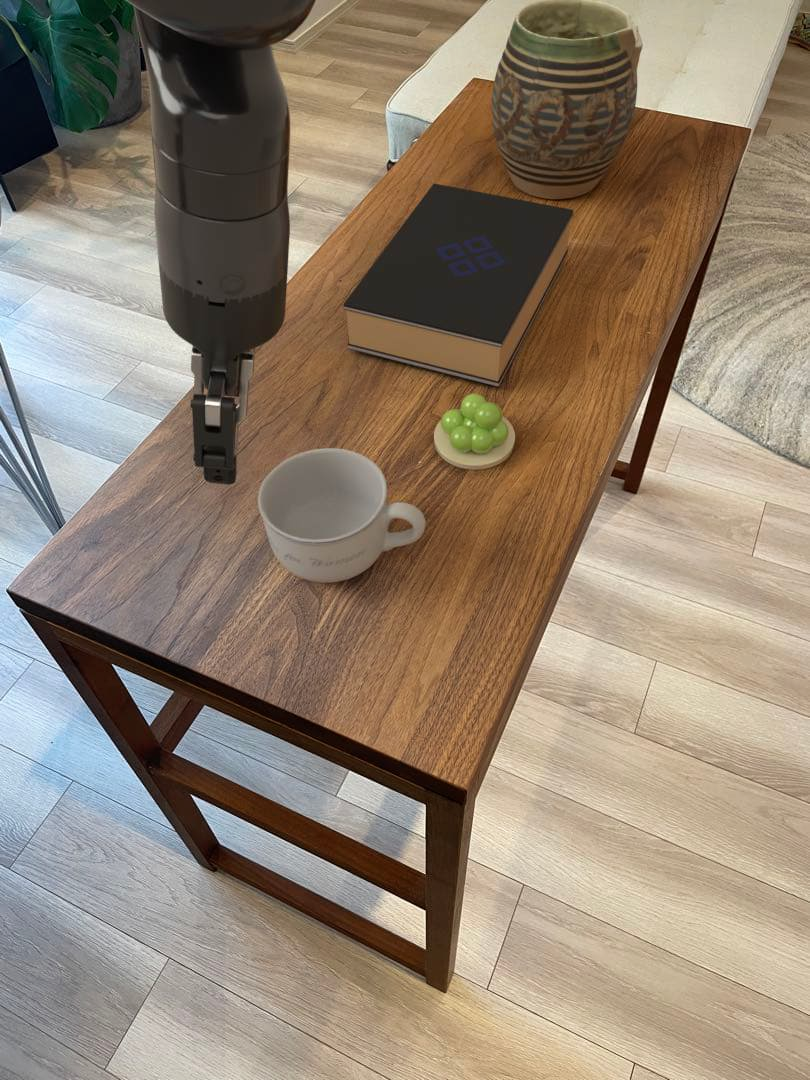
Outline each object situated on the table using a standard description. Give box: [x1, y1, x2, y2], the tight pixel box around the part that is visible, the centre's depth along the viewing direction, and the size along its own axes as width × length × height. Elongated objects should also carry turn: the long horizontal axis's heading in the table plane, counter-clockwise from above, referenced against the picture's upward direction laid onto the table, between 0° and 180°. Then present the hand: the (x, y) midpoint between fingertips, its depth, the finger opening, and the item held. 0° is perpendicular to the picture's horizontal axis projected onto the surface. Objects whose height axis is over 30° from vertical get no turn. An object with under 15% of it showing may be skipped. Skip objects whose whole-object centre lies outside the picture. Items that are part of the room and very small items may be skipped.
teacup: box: [257, 447, 426, 584], centre depth 71 cm, size 14×11×8 cm
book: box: [342, 182, 575, 388], centre depth 93 cm, size 17×25×7 cm
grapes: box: [433, 392, 516, 471], centre depth 80 cm, size 8×8×5 cm
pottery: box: [491, 0, 644, 200], centre depth 104 cm, size 18×18×20 cm
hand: (227, 434), depth 62 cm, fingers open, 8 cm apart
